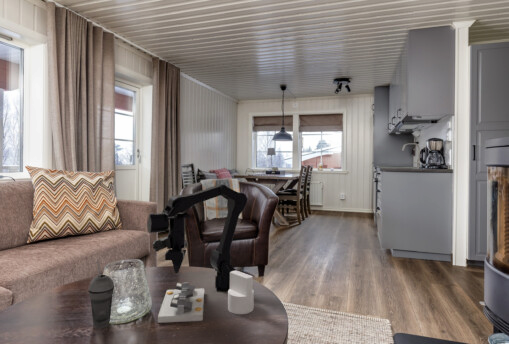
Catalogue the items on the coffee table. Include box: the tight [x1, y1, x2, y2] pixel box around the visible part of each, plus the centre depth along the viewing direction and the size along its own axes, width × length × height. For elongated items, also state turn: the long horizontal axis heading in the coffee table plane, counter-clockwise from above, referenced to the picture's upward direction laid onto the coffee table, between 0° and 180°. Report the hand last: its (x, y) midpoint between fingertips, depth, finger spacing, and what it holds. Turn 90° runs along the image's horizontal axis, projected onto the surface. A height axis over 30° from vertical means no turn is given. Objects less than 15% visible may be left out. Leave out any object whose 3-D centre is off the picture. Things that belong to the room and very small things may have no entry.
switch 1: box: [174, 281, 196, 291], centre depth 119 cm, size 7×4×1 cm, turn 98°
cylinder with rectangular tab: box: [227, 269, 255, 315], centre depth 111 cm, size 9×9×12 cm
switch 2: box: [173, 289, 194, 299], centre depth 112 cm, size 7×4×1 cm, turn 97°
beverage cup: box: [88, 260, 115, 330], centre depth 98 cm, size 7×7×20 cm
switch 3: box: [170, 298, 193, 311], centre depth 105 cm, size 7×4×1 cm, turn 98°
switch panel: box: [157, 282, 205, 324], centre depth 112 cm, size 14×21×5 cm, turn 8°
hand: (176, 271), depth 118 cm, fingers open, 2 cm apart
